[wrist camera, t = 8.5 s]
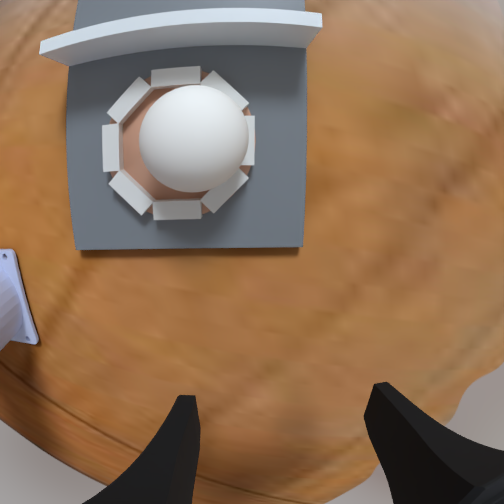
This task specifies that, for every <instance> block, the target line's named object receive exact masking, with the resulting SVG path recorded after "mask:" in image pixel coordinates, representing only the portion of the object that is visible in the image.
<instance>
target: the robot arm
mask: <svg viewBox="0 0 504 504" xmlns="http://www.w3.org/2000/svg"><path fill="white" fill-rule="evenodd" d="M5 254H6V256H7V258H6V256H5ZM10 340H12V341H17V342H23V343H29V344H37V343H38V341H39V338H38V335H37V332H36V329H35V326H34V323H33V320H32V316H31V313H30V310H29V306H28V303H27V299H26V295H25V292H24V288H23V284H22V280H21V276H20V271H19V267H18V262H17V257H16V254H15V252H14V250H12V249H0V351H1V350H2V349H3V347H4V346H5V345H6V344H7V343H8V342H9V341H10ZM364 420H365V424H366V428H367V431H368V435H369V438H370V440H371V442H372V445H373V447H374V449H375V452H376V454H377V456H378V459H379V461H380V463H381V466H382V468H383V470H384V473H385V475H386V478H387V481H388V484H389V487H390V491H391V495H392V499H393V503H394V504H504V451H502V450H498V449H494V448H491V447H488V446H484V445H482V444H479V443H476V442H474V441H472V440H469V439H467V438H465V437H463V436H461V435H459V434H457V433H455V432H453V431H451V430H450V429H448V428H446V427H445V426H443V425H441V424H440V423H438V422H437V421H436V420H434V419H433V418H431V417H430V416H428V415H427V414H426V413H424V412H423V411H422V410H420V409H419V408H418V407H417V406H415V405H414V404H413V403H412V402H411V401H409V400H408V399H407V398H406V397H405V396H403V395H402V394H401V393H400V392H399V391H398V390H396V389H395V388H394V387H393V386H392V385H390V384H389V383H388V382H382V383H377V384H374V386H373V389H372V392H371V395H370V398H369V402H368V405H367V408H366V410H365V413H364ZM199 450H200V422H199V416H198V410H197V404H196V397H195V396H193V395H179V396H178V397H177V399H176V401H175V403H174V405H173V407H172V409H171V411H170V412H169V414H168V416H167V418H166V419H165V421H164V423H163V424H162V426H161V427H160V429H159V430H158V432H157V433H156V435H155V436H154V438H153V439H152V440H151V442H150V443H149V444H148V446H147V447H146V448H145V450H144V451H143V452H142V453H141V454H140V456H139V457H138V458H137V459H136V460H135V461H134V462H133V463H132V464H131V466H130V467H129V468H128V469H127V470H126V471H124V472H123V473H122V474H121V475H120V476H119V477H118V478H117V479H116V480H115V481H114V482H112V483H111V484H110V485H109V486H107V487H106V488H105V489H103V490H102V491H101V492H99V493H98V494H97V495H95V496H94V497H92V498H91V499H89V500H87V501H86V502H84V503H82V504H192V496H193V489H194V482H195V476H196V470H197V463H198V457H199Z"/></svg>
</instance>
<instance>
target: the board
mask: <svg viewBox="0 0 504 504" xmlns="http://www.w3.org/2000/svg"><path fill="white" fill-rule="evenodd" d="M321 29H322V14H321V13H313V12H305V2H304V0H78V5H77V10H76V16H75V22H74V29H73V31H71V32H68V33H64V34H61V35H58V36H55V37H52V38H49V39H46V40H43V41H41V45H40V52H39V55H42V56H45V57H47V58H50V59H52V60H55V61H57V62H60V63H62V64H64V65H67V66H69V73H68V87H67V112H66V145H67V171H68V186H69V198H70V208H71V217H72V225H73V233H74V240H75V247H76V250H105V249H172V248H254V247H303V235H304V214H305V188H306V150H307V60H306V48H307V47H308V45H309V44H310V43H311V41H312V40H313V39H314V38H315V36H316V35H317V34H318V32H319V31H320V30H321ZM189 85H202V86H208V87H212V88H215V89H217V90H220V91H221V92H223V93H225V94H226V95H228V96H229V97H230V98H231V99H233V100H234V101H235V102H236V104H237V105H238V106H239V107H240V109H241V110H242V112H243V114H244V116H245V119H246V122H247V125H248V131H249V143H248V149H247V153H246V155H245V158H244V160H243V162H242V164H241V166H240V167H239V168H238V170H237V171H236V172H235V174H234V175H233V176H232V177H231V178H229V179H228V180H227V181H225V182H224V183H222V184H221V185H219V186H217V187H215V188H213V189H210V190H207V191H202V192H182V191H177V190H174V189H172V188H169V187H167V186H165V185H164V184H162V183H161V182H159V181H158V180H157V179H156V178H155V177H154V176H153V175H152V174H151V173H150V172H149V170H148V169H147V167H146V166H145V164H144V162H143V159H142V157H141V153H140V148H139V133H140V128H141V125H142V121H143V119H144V117H145V115H146V113H147V112H148V110H149V108H150V107H151V106H152V105H153V104H154V103H155V102H156V101H157V100H158V99H159V98H160V97H161V96H163V95H164V94H166V93H168V92H170V91H172V90H174V89H176V88H180V87H183V86H189Z"/></svg>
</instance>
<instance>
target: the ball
mask: <svg viewBox="0 0 504 504" xmlns="http://www.w3.org/2000/svg"><path fill="white" fill-rule="evenodd" d="M248 143H249V131H248V125H247V122H246V119H245V116H244V114H243V112H242V110H241V109H240V107H239V106H238V105H237V104H236V102H235V101H234V100H233V99H231V98H230V97H229V96H228V95H226V94H225V93H223V92H221V91H220V90H217V89H215V88H212V87H208V86H202V85H189V86H183V87H180V88H176V89H174V90H172V91H170V92H168V93H166V94H164V95H163V96H161V97H160V98H159V99H158V100H157V101H156V102H155V103H154V104H153V105H152V106H151V107H150V108H149V110H148V112H147V113H146V115H145V117H144V119H143V121H142V125H141V128H140V133H139V148H140V153H141V157H142V159H143V162H144V164H145V166H146V167H147V169H148V170H149V172H150V173H151V174H152V175H153V176H154V177H155V178H156V179H157V180H158V181H159V182H161V183H162V184H164V185H165V186H167V187H169V188H172V189H174V190H177V191H182V192H202V191H207V190H210V189H213V188H215V187H217V186H219V185H221V184H222V183H224V182H225V181H227V180H228V179H229V178H231V177H232V176H233V175H234V174H235V172H236V171H237V170H238V168H239V167H240V166H241V164H242V162H243V160H244V158H245V155H246V153H247V149H248Z"/></svg>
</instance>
